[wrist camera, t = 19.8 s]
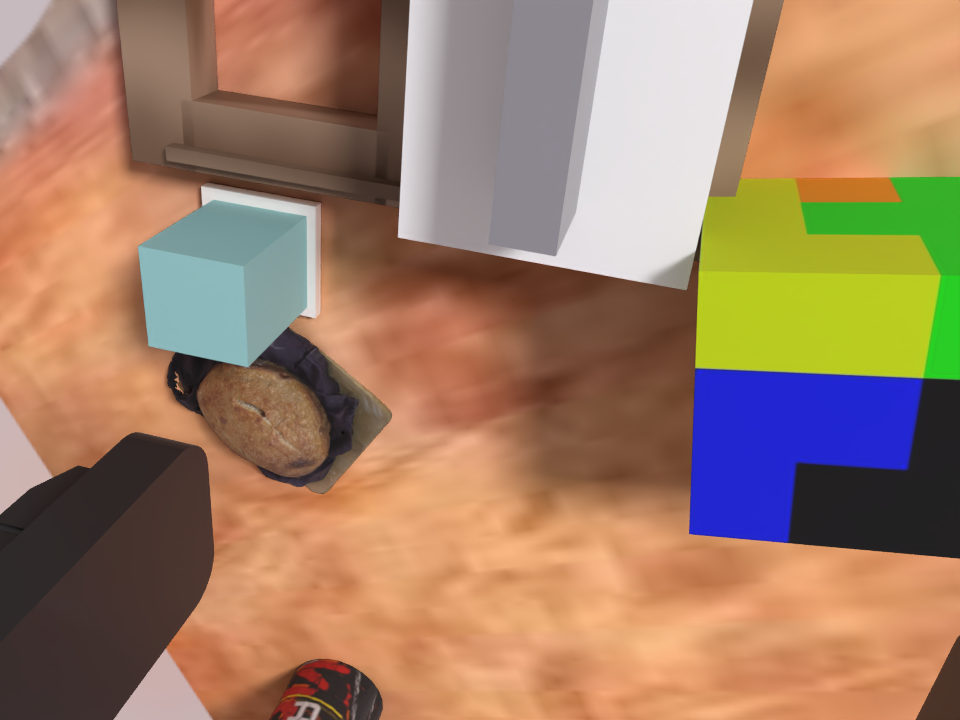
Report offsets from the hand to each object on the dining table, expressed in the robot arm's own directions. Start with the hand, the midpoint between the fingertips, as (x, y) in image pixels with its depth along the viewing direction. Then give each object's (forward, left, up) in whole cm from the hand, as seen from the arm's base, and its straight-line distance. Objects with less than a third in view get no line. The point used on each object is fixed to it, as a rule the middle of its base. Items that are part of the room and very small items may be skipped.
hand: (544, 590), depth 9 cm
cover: (-2, -3, -26) cm, 26 cm away
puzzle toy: (+8, +8, -29) cm, 31 cm away
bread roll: (+18, -17, -29) cm, 38 cm away
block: (+10, -17, -28) cm, 34 cm away
